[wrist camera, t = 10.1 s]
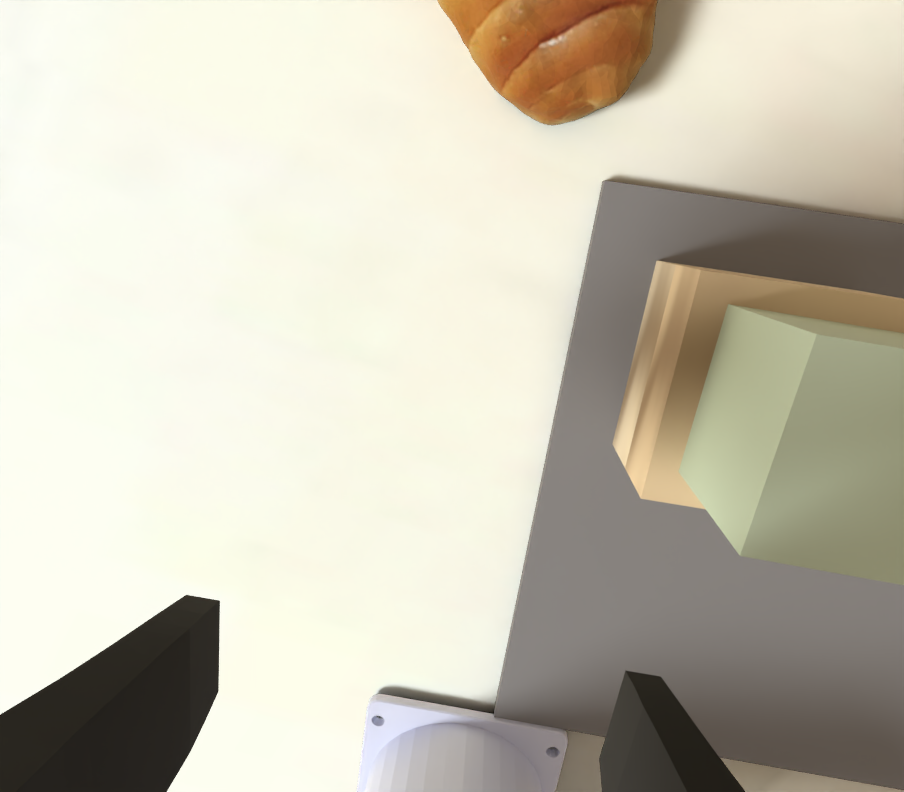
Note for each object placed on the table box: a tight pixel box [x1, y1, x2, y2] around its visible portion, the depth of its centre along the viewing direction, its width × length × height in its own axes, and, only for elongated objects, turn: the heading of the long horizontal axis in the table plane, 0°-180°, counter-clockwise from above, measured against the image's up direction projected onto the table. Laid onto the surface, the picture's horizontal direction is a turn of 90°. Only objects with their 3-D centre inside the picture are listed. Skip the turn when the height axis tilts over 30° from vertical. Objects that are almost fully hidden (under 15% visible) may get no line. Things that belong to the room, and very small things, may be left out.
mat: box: [494, 181, 904, 790], centre depth 20 cm, size 20×16×1 cm
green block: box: [678, 304, 904, 585], centre depth 12 cm, size 4×4×4 cm
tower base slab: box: [613, 261, 903, 467], centre depth 17 cm, size 6×6×2 cm
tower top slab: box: [625, 265, 904, 509], centre depth 15 cm, size 6×6×2 cm
